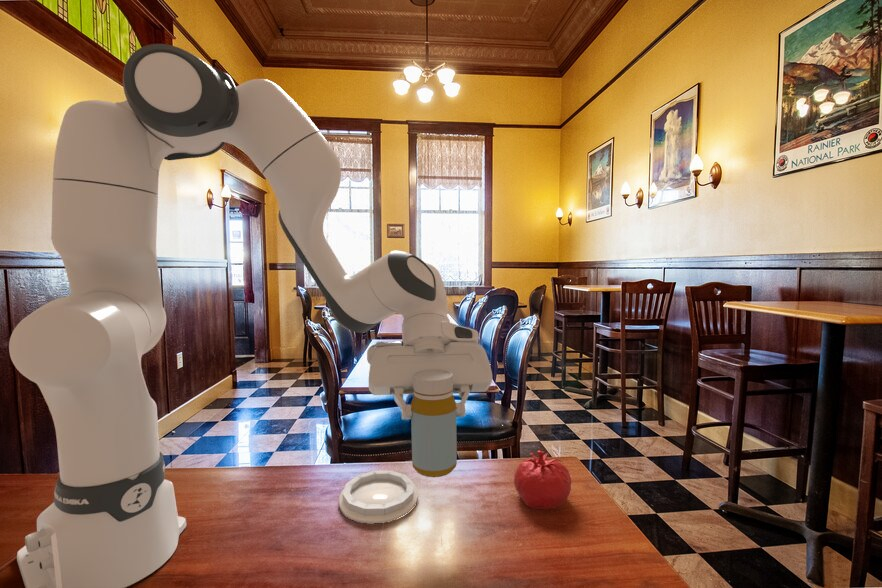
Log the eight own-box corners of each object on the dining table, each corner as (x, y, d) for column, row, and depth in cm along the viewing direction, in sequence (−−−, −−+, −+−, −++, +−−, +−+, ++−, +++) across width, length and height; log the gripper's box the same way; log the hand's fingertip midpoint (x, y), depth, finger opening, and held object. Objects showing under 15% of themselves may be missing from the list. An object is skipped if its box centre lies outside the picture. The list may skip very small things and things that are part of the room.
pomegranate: (578, 516, 71) (581, 465, 70) (520, 517, 71) (522, 465, 70) (559, 484, 81) (561, 438, 80) (508, 484, 81) (510, 438, 80)
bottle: (452, 481, 62) (451, 382, 61) (407, 476, 63) (404, 380, 62) (459, 458, 69) (458, 369, 67) (418, 455, 70) (416, 367, 69)
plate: (322, 509, 73) (321, 497, 73) (371, 472, 85) (371, 462, 85) (388, 534, 66) (388, 521, 66) (431, 490, 79) (431, 479, 78)
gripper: (367, 332, 69) (365, 410, 61) (486, 330, 72) (501, 405, 64) (367, 352, 74) (366, 427, 65) (480, 350, 77) (492, 422, 68)
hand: (433, 416), depth 65 cm, fingers closed on bottle, 7 cm apart
